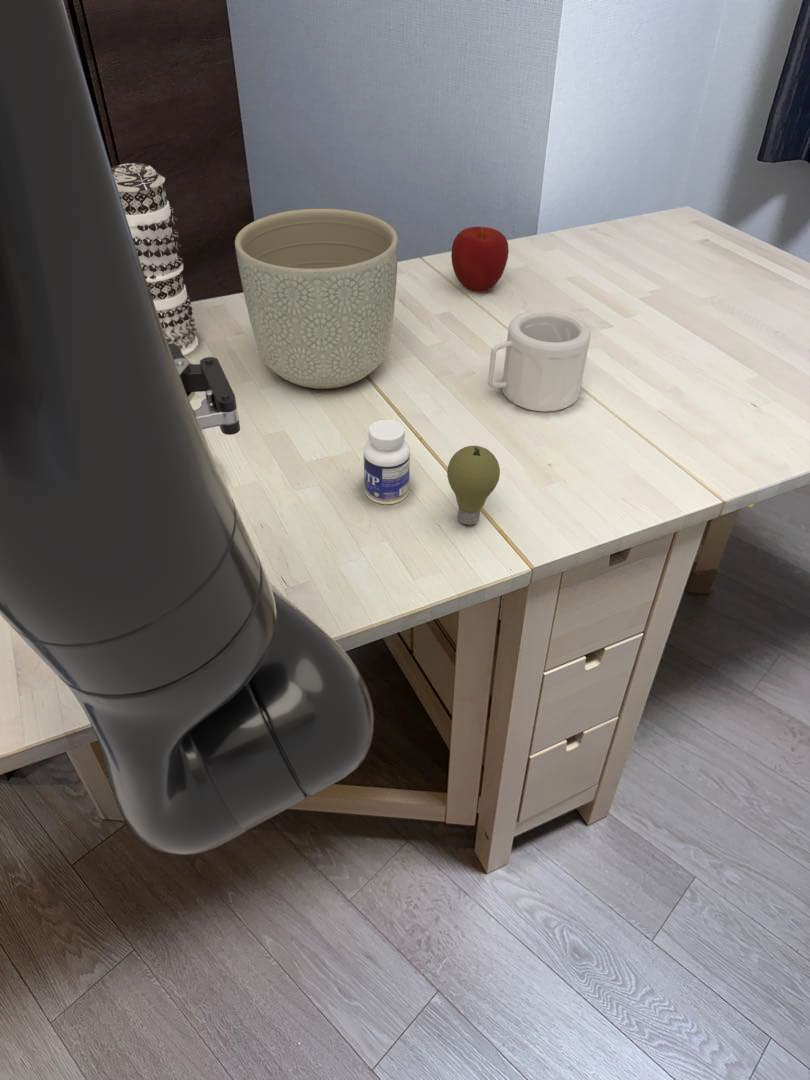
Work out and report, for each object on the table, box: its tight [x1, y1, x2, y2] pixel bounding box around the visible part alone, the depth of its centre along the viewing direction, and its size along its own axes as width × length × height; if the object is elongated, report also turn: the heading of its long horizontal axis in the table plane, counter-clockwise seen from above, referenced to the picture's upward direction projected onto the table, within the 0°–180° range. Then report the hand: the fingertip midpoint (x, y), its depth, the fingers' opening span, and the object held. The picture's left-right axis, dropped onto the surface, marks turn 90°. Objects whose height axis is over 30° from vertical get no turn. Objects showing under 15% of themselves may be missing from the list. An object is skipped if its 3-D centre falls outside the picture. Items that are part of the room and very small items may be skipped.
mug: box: [487, 309, 592, 412], centre depth 100 cm, size 14×11×10 cm
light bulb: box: [446, 445, 501, 526], centre depth 80 cm, size 6×6×10 cm
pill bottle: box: [363, 418, 411, 505], centre depth 85 cm, size 5×5×9 cm
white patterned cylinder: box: [111, 162, 199, 357], centre depth 104 cm, size 9×9×25 cm
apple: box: [450, 226, 510, 293], centre depth 125 cm, size 10×10×10 cm
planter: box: [234, 208, 399, 390], centre depth 102 cm, size 21×21×19 cm
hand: (99, 363), depth 51 cm, fingers open, 8 cm apart
